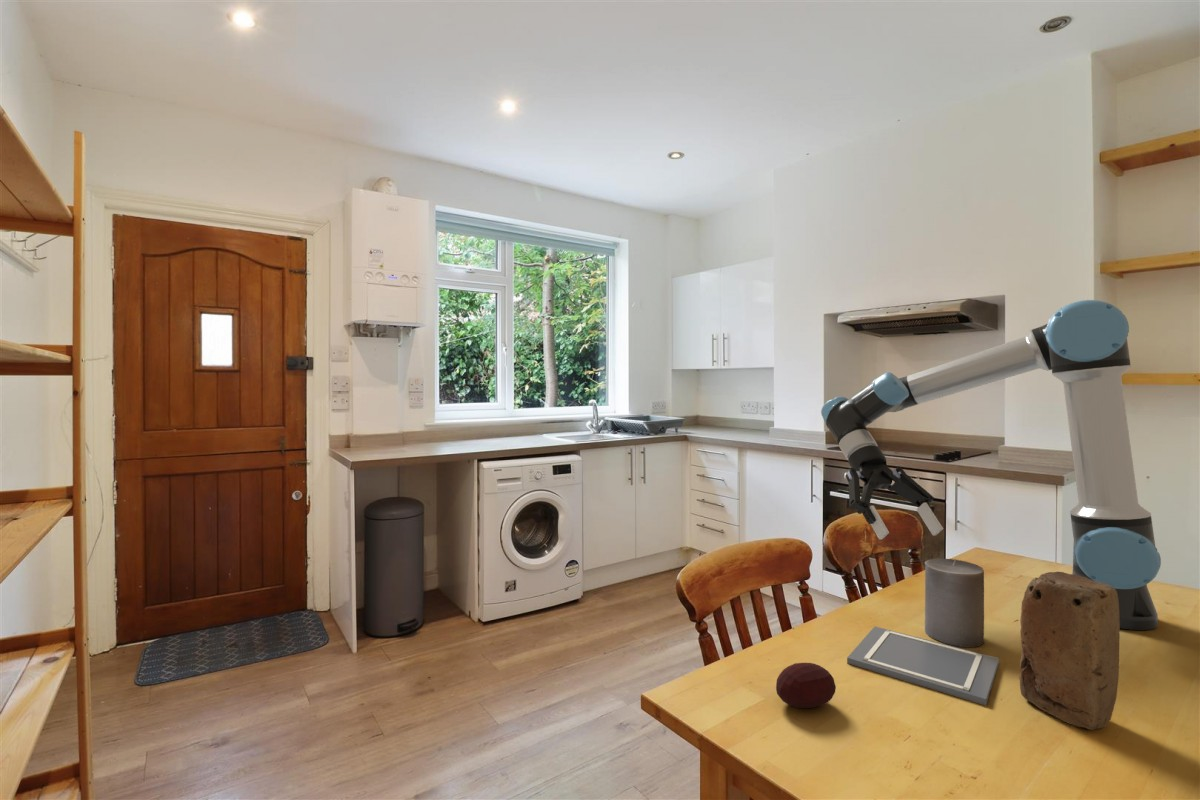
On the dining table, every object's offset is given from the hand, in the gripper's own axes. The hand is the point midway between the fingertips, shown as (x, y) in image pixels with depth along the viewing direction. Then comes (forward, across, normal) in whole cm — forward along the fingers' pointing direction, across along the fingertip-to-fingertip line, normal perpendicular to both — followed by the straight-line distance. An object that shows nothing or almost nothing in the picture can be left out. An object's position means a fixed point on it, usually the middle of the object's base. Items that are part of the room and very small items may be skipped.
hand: (911, 534), depth 120 cm
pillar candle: (+20, 0, -5) cm, 20 cm away
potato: (+29, +42, +5) cm, 51 cm away
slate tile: (+25, +14, +1) cm, 29 cm away
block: (+37, +6, +13) cm, 40 cm away
